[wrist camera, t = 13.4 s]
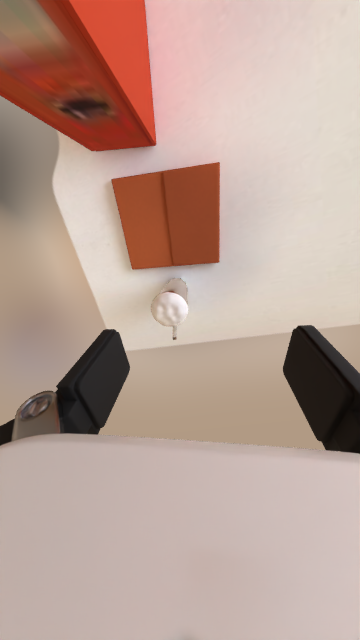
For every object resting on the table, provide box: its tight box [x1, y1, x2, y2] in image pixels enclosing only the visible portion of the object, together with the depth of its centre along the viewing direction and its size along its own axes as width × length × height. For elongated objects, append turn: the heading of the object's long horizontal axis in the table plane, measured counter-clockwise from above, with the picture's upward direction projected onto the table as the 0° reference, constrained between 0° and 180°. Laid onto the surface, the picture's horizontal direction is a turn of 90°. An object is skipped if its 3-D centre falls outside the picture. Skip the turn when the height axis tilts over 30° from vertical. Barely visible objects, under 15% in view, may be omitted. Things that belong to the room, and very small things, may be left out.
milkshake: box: [151, 278, 188, 340], centre depth 25 cm, size 5×5×10 cm
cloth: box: [112, 162, 220, 269], centre depth 24 cm, size 11×13×1 cm
